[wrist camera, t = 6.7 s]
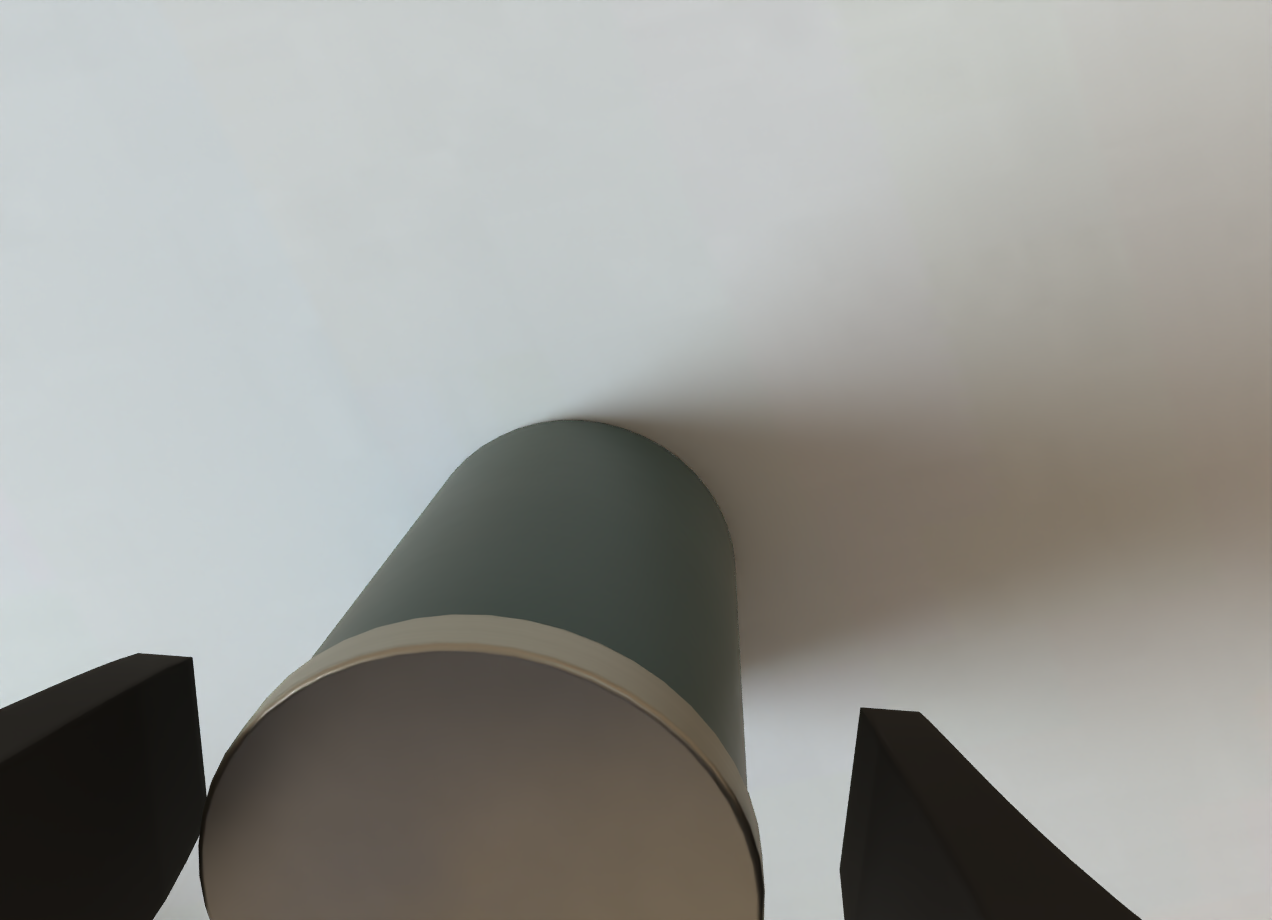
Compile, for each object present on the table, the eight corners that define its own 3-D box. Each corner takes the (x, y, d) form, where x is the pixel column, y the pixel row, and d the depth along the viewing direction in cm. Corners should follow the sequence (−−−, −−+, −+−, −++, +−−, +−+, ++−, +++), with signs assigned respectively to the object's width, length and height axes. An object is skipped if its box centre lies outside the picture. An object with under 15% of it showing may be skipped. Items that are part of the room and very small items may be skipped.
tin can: (729, 725, 16) (742, 1144, 9) (419, 700, 16) (218, 1090, 10) (754, 423, 14) (791, 669, 8) (412, 402, 15) (167, 622, 8)
